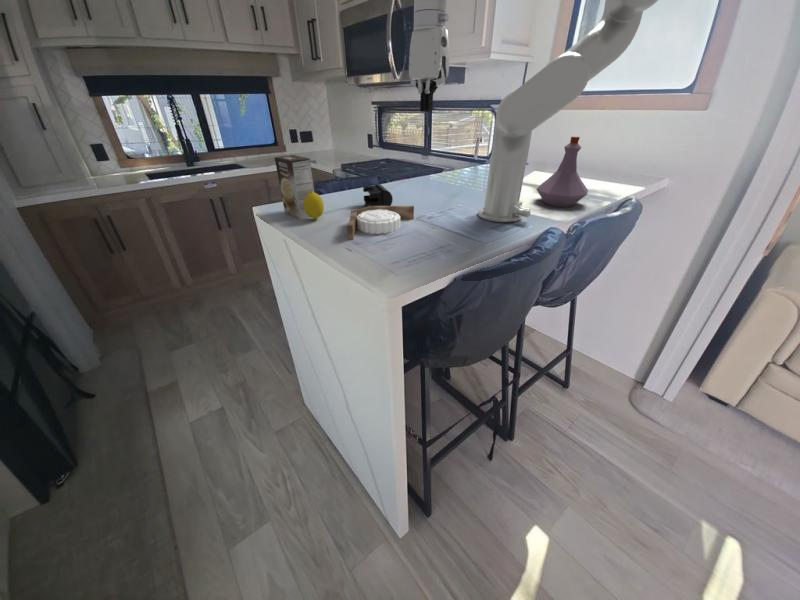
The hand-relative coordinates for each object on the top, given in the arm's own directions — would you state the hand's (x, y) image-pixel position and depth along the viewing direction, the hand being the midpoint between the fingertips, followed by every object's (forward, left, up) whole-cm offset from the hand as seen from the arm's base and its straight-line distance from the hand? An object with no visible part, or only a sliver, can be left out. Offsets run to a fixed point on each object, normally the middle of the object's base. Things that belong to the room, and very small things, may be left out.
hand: (426, 111), depth 88 cm
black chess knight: (+13, +7, -27) cm, 31 cm away
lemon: (+17, +28, -27) cm, 43 cm away
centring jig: (+2, +19, -27) cm, 33 cm away
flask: (-27, -39, -27) cm, 55 cm away
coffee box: (+25, +28, -27) cm, 46 cm away
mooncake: (-1, +19, -28) cm, 34 cm away
